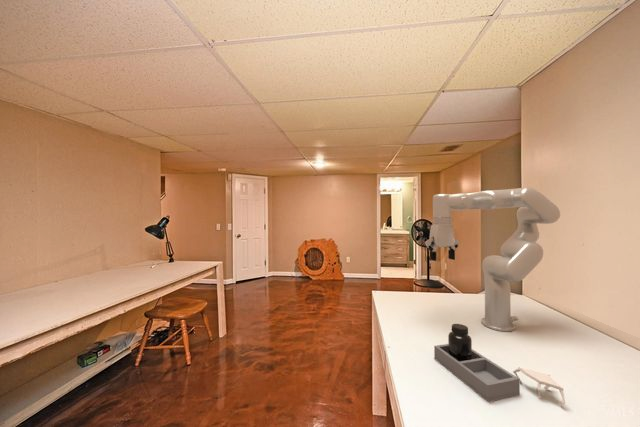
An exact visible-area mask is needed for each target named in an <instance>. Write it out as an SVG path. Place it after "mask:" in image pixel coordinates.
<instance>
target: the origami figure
mask: <svg viewBox="0 0 640 427" xmlns="http://www.w3.org/2000/svg"><path fill="white" fill-rule="evenodd" d="M518 372H521V373H523V375H525V377H526V376H527V377H529V378H530V379H531V380H533V381H535V382H536V383H537V385H536V392H537V396H538V399H539V400H542V394H541V388H542V385H544V387H543V389H544V390H545V391H548V392H551V393H552V390H550V388H553V389H556V390H559V391H558V392H559V393H560V395H561V400H562V401H559V400H558V401H557V403H558V406H559V407H560V408H562V404H563V405H564V404H566V400H565V398H566V397H565V394H564V387H562V386H561V385H560V384H559V383H558V382H556V381H555V380H554V379H553V378H552V377H551V376H550V375H551V374H548V373H543V372H539V371H536V370H531V369H528V368H525V367H521V366H519V367H517V368H516V369H514V370H513V372H512V373H513V375H514V376H516V377H517V378H519V379H520V383H521V384H522V383H523V382H522V380H521V378H520V376H519V375H518V374H517V373H518Z"/></svg>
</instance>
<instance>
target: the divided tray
mask: <svg viewBox="0 0 640 427" xmlns="http://www.w3.org/2000/svg"><path fill="white" fill-rule="evenodd" d="M434 360H435V361H436V362H438V363H439V364H440V365H441V366H443V367H444V368H445V369H446V370H448V371H449V372H450V373H452V374H453V375H454V376H455V377H456V378H457V379H459V380H460V381H461V382H463V384H465V385H466V386H467V387H468V388H469V389H471V390H472V391H473V392H475V394H477V395H478V396H480V398H482V399H483V400H484V401H486V402H487V403H490V402H495V401H500V400H503V399H507V398H512V397H515V396H520V395H521V394H520V393H521V392H520V391H521V390H520V389H521V388H520V387H521V386H520V385H521V384H520V383H521V382H520V380H521V378H520V377H519V378H520V379H519V378H517V377H516V375H515V374H514V373H513V374H512V372H510V371H508V370H506V369H505V368H503V367H502V366H500V365H498V364H497V363H496V362H493V361H492V360H490V359H488V358H487V357H485V356H484V355H482V354H481V353H479V352H477V351H476V350H474V349H473V348H472V360H466V361H460V362H459V361H457V360H456V359H455V358H453V357H452V356H451V355H449V354H448V343H445V344H438V345H434Z"/></svg>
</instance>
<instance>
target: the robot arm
mask: <svg viewBox="0 0 640 427" xmlns="http://www.w3.org/2000/svg"><path fill="white" fill-rule="evenodd" d="M510 208H518V209H517V212H516V219H517V229H516V230H515V231H514V232H513V234H512V235H510V237H509V238H507V240H506V241H505V242H504V243H503V244H502V245H501V246H500V253H501V255H502V256H501V255H496V254H495V255H494V254H493V255H492V254H491V255H488V256H486V257H485V258H484V259H483V260H482V265H481V268H482V273H483V277H484V278H483V279H484V317H482V318H481V319H480V323H481V325H483V326H484V327H487V328H489V329H491V330H495V331H500V332H513V331H515V330H516V325H515V324H513V322H515V321H519V318H518V316H517V315H513V316H511V314H512V313H511V285H510V282H511V283H519V282H520V281H522V280H524V279H525V278H526V277H527V276H528V275H529V274H530V273H531V272H532V271H534V269H535V268H536V267H537V266H538V265H539V264H540V262H541V261H542V259H543V257H544V249H543V247H542V245H540V244H539V243H538V242H537V241H538V240H539V238H540V232H539V228H538V224H542V225H543V224H544V225H548V224H553V223H556V222H557V221H558V220H559V219H560V217H561V210H560V209H559V207H558V206H557V205H556V204H555V203H553V202H552V201H551V200H550V199H549V198H548V197H546V195H544V194H543V193H541V192H540V191H539V190H537V189H535V188H533V187H529V186H528V187H527V186H526V187H519V188H517V187H516V188H509V189H508V188H507V189H493V190H492V189H491V190H481V191H477V192H471V193H470V192H469V193H463V192H461V193H451V194H449V193H438V194H434V195H433V196H432V224H431V226H430V230H429V239H427V240H426V241H425V242H424V243H425V246H426V248H427V249H428V251H429V259H430V261H433V262H436V261H437V251H436V250H437V249H438V248H448V256H447V258H448V259H449V260H453V261H455V260H456V251H457V248H458V247H459V243H460V240H459V239H457V238H455V231H454V230H455V228H454V226H453V222H454V219H453V218H452V214H453V213H452V212H453V211H466V210H496V209H510Z"/></svg>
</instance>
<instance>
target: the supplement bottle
mask: <svg viewBox="0 0 640 427" xmlns="http://www.w3.org/2000/svg"><path fill="white" fill-rule="evenodd" d="M450 330H451V331H450V332H449V333H448V336H447V338H448V343H447V344H448V354H449V355H451V356H452V357H453V358H455V359H456V360H457V361H459V362H460V361H466V360H472V349H473V348H472V338H471V336H470V335H469V327H468V326H466V325H465V324H461V323H452V324H451V329H450Z"/></svg>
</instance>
